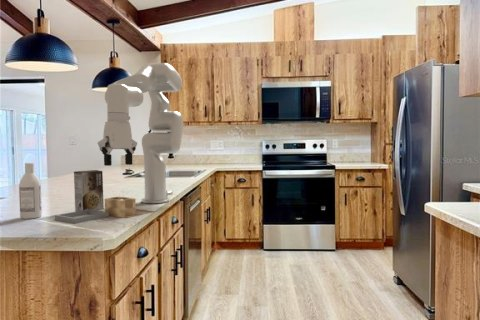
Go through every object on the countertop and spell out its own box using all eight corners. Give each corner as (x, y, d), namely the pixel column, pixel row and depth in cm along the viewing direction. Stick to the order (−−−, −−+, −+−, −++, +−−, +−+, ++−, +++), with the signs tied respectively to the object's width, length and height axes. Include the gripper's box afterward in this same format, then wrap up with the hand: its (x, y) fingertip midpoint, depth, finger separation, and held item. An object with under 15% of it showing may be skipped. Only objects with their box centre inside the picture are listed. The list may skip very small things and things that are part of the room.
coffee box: (95, 208, 158) (94, 169, 157) (104, 210, 154) (103, 170, 153) (74, 211, 151) (73, 171, 150) (82, 213, 147) (81, 171, 146)
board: (134, 210, 154) (134, 208, 154) (156, 212, 148) (156, 211, 148) (103, 216, 141) (103, 214, 141) (126, 219, 135) (126, 218, 135)
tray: (88, 214, 145) (88, 209, 145) (109, 217, 139) (108, 212, 139) (54, 221, 133) (54, 215, 133) (75, 225, 127) (75, 218, 127)
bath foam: (33, 214, 145) (31, 162, 144) (45, 216, 142) (44, 162, 141) (15, 218, 139) (13, 163, 138) (28, 219, 136) (27, 163, 135)
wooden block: (105, 214, 142) (104, 198, 141) (118, 212, 147) (118, 196, 147) (122, 217, 137) (121, 200, 136) (135, 214, 142) (135, 198, 142)
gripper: (129, 120, 150) (129, 163, 150) (91, 117, 135) (92, 165, 136) (143, 119, 146) (143, 164, 146) (105, 116, 131) (106, 166, 132)
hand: (118, 165), depth 141 cm, fingers open, 9 cm apart
